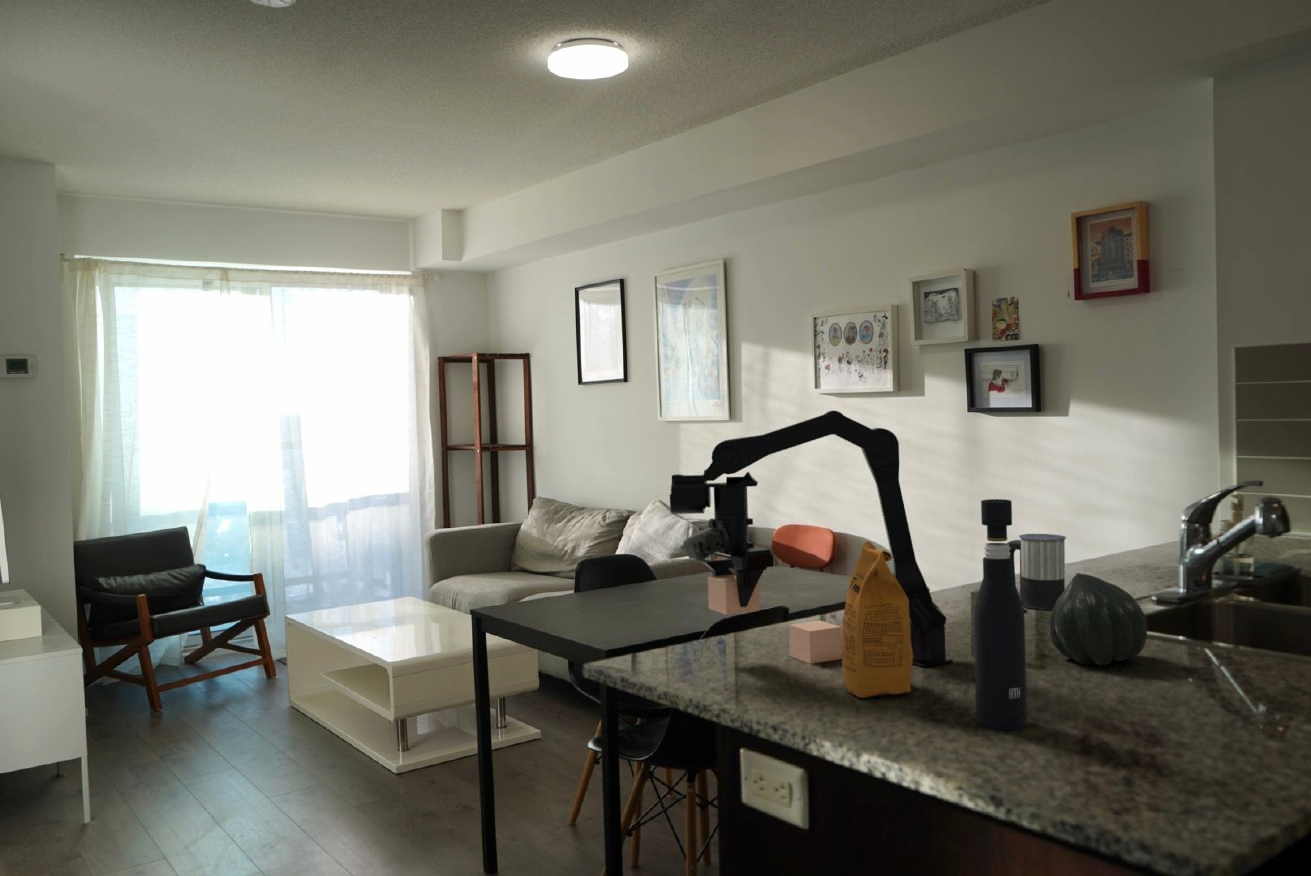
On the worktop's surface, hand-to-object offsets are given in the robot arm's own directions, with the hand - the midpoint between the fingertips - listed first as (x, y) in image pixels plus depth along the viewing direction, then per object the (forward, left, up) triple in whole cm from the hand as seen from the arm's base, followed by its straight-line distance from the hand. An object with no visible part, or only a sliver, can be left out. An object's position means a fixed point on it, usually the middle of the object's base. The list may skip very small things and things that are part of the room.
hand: (733, 603), depth 173 cm
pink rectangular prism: (-5, -13, -10) cm, 17 cm away
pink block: (0, 0, -1) cm, 1 cm away
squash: (-31, -51, -10) cm, 61 cm away
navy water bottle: (-48, -14, -10) cm, 51 cm away
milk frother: (+7, -73, -10) cm, 74 cm away
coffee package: (-26, -10, -10) cm, 30 cm away
